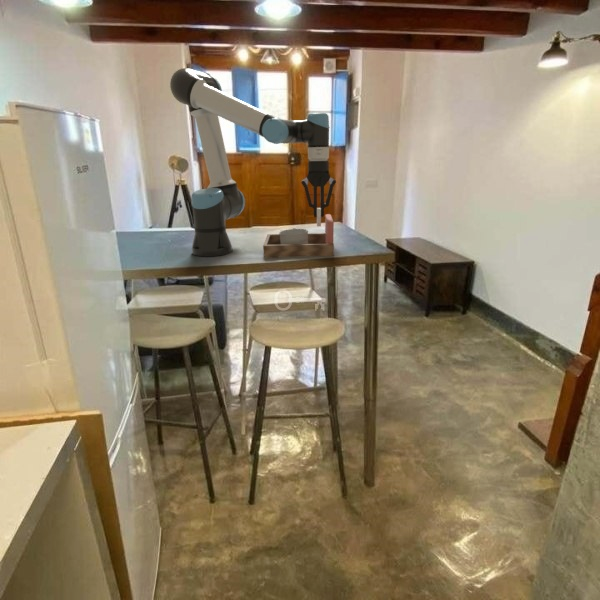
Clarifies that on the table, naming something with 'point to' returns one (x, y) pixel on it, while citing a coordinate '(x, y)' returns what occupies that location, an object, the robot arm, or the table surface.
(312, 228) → the table surface
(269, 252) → the crate
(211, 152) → the robot arm
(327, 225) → the pink flat slab
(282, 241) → the teacup
